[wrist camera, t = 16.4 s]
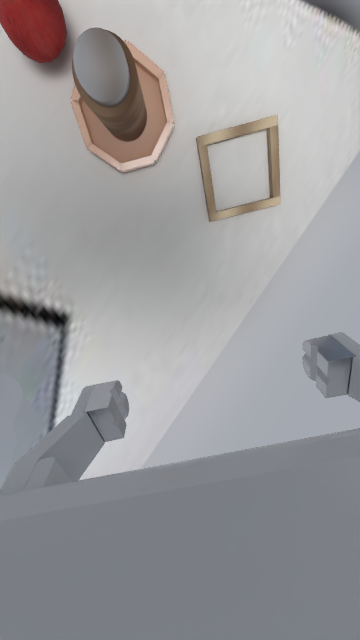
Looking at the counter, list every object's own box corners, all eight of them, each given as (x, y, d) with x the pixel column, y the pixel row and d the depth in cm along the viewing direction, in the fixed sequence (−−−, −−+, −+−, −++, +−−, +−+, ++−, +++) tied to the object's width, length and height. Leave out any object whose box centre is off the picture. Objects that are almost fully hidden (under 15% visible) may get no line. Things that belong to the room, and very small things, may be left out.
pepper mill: (111, 146, 30) (82, 117, 19) (96, 92, 27) (52, 27, 17) (152, 135, 29) (143, 100, 19) (139, 79, 27) (121, 5, 17)
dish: (100, 179, 32) (96, 178, 30) (63, 69, 27) (57, 61, 25) (179, 157, 31) (180, 155, 29) (157, 40, 26) (156, 30, 25)
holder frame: (209, 221, 35) (210, 221, 34) (196, 138, 30) (197, 136, 29) (277, 204, 34) (280, 204, 33) (274, 117, 30) (277, 114, 29)
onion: (8, 20, 25) (-56, -52, 18) (53, -14, 24) (4, -104, 17) (45, 87, 27) (2, 47, 20) (87, 58, 27) (57, 6, 19)
